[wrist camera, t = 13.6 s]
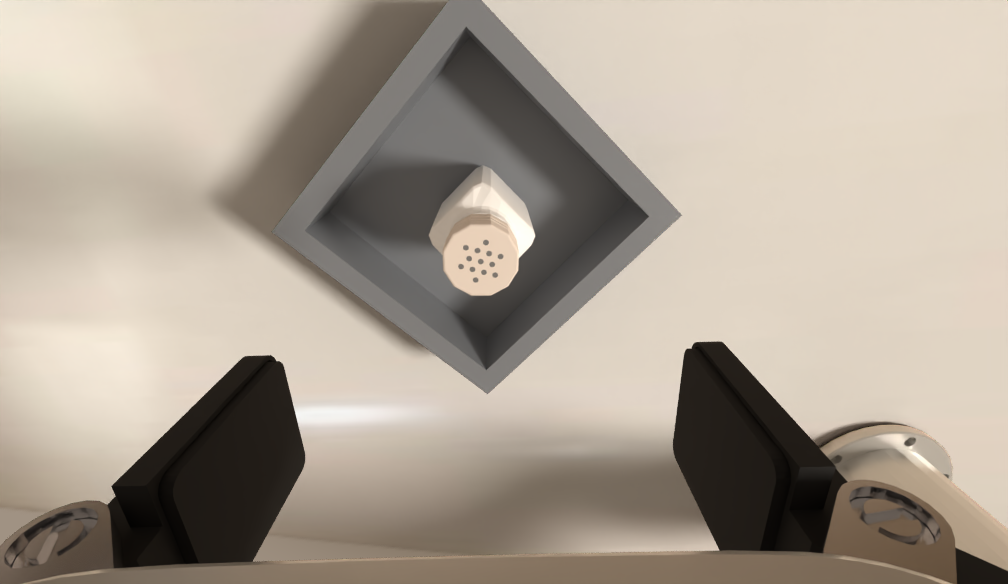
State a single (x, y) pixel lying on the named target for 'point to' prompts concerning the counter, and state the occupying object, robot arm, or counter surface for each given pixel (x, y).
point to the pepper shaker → (482, 233)
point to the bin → (445, 165)
